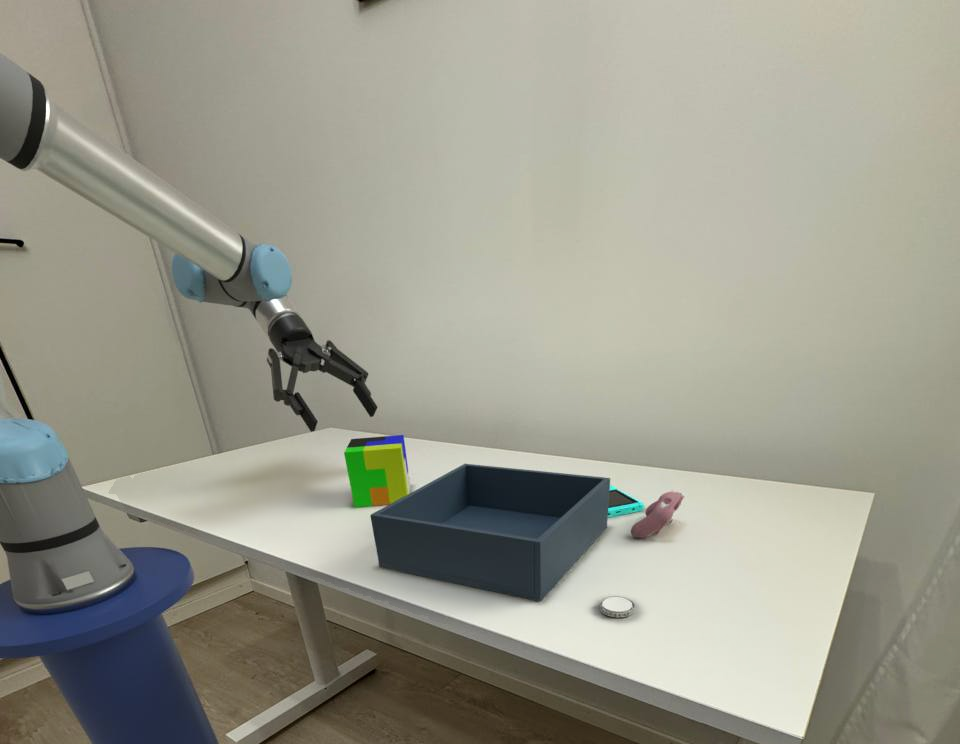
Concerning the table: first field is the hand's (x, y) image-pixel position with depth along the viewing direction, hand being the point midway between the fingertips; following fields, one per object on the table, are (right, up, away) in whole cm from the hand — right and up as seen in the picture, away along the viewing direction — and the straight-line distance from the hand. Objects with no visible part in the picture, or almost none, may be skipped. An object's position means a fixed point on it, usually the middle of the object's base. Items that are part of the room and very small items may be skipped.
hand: (345, 419), depth 105 cm
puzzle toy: (+7, -14, +2) cm, 16 cm away
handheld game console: (+46, -18, -7) cm, 50 cm away
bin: (+28, -28, -21) cm, 45 cm away
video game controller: (+53, -25, -19) cm, 62 cm away
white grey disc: (+42, -39, -39) cm, 69 cm away
